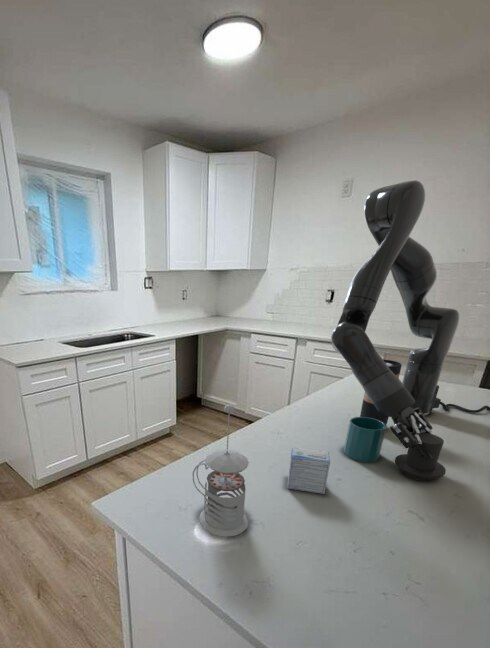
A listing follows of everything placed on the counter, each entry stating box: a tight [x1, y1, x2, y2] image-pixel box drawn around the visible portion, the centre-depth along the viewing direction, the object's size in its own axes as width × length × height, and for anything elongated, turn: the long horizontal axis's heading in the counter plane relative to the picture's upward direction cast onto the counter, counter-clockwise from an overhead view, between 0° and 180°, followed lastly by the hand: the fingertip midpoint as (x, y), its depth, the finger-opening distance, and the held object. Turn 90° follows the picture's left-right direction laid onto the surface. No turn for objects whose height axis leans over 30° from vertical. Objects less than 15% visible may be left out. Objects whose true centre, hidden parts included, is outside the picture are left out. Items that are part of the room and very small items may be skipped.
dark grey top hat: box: [394, 432, 447, 482], centre depth 84 cm, size 10×10×10 cm
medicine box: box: [286, 447, 331, 495], centre depth 81 cm, size 8×4×9 cm, turn 71°
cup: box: [343, 416, 388, 463], centre depth 93 cm, size 8×8×9 cm
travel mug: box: [359, 359, 403, 426], centre depth 106 cm, size 8×8×20 cm
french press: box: [192, 403, 250, 538], centre depth 68 cm, size 10×12×25 cm
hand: (432, 454), depth 83 cm, fingers closed on dark grey top hat, 6 cm apart
